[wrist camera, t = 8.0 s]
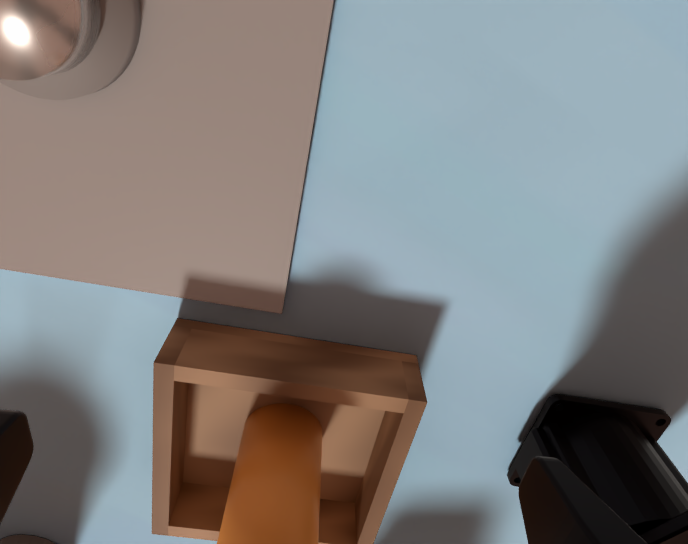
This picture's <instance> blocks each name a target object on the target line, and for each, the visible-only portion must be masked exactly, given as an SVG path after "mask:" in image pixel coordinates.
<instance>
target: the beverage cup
mask: <svg viewBox="0 0 688 544" xmlns="http://www.w3.org/2000/svg"><path fill="white" fill-rule="evenodd" d="M0 544H55V543H53V542H51V541H49V540H47V539H44V538H40V537H37V536H31V535H11V536H8V537H5V538H2V539H1V540H0Z"/></svg>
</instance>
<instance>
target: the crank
mask: <svg viewBox="0 0 688 544" xmlns="http://www.w3.org/2000/svg"><path fill="white" fill-rule="evenodd" d="M100 17H101V11H100V1H99V0H0V79H5V80H12V81H23V80H30V79H36V78H41V77H45V76H50V75H55V74H60V73H63V72H66V71H69V70H71V69H73V68H75V67H76V66H77V65H79V64H80V63H82V62H83V61H84V59H85V58H86V57H87V56H88V55H89V53H90V52H91V50H92V49H93V47H94V45H95V43H96V40H97V37H98V33H99V28H100Z"/></svg>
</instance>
